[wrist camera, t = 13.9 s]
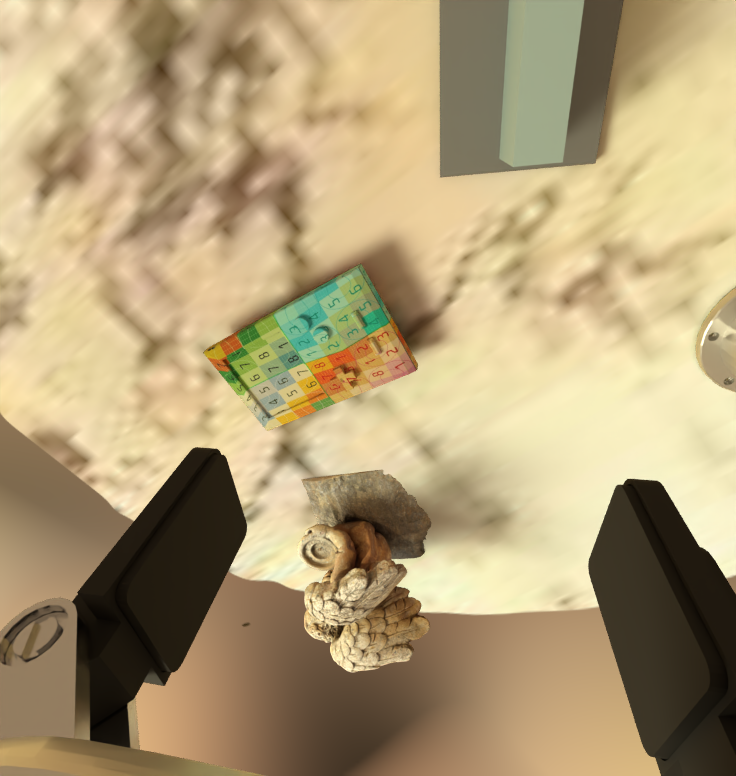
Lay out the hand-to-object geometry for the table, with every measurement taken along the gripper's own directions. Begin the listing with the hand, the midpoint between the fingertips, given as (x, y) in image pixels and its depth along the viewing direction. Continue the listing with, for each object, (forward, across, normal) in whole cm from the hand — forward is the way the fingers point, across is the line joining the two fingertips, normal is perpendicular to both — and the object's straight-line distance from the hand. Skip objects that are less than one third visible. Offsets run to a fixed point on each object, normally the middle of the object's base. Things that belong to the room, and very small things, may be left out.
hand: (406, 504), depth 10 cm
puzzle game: (+33, +13, +12) cm, 38 cm away
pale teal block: (+32, -6, -11) cm, 34 cm away
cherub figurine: (+33, +9, +40) cm, 52 cm away
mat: (+33, -6, -11) cm, 35 cm away
